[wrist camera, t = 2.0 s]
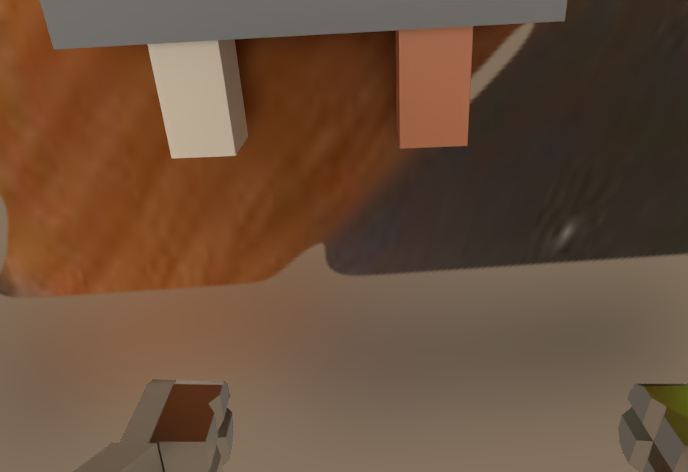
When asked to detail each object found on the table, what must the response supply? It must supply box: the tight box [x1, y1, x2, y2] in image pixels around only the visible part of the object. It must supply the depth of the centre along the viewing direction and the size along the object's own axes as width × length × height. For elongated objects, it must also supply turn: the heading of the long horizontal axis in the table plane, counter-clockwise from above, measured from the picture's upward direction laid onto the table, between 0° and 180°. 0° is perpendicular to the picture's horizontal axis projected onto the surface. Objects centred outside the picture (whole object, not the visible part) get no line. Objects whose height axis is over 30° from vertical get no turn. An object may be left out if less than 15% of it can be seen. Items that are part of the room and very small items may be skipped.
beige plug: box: [147, 39, 248, 158], centre depth 33 cm, size 11×4×4 cm, turn 3°
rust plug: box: [395, 26, 473, 149], centre depth 32 cm, size 11×4×4 cm, turn 3°
